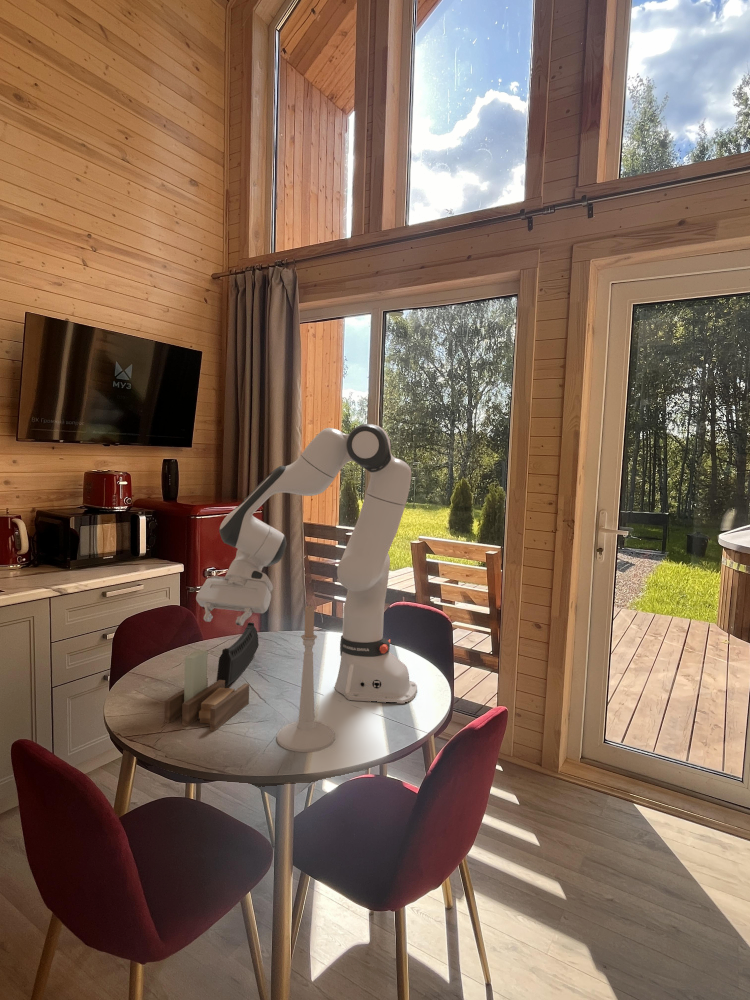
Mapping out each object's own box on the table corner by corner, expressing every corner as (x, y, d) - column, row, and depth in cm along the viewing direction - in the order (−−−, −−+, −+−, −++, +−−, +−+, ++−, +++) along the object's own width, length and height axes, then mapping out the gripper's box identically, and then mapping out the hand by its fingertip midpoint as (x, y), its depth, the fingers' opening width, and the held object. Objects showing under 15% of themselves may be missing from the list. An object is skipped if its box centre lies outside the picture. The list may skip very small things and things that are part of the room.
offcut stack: (234, 706, 143) (234, 688, 143) (215, 725, 132) (215, 706, 132) (219, 705, 143) (219, 687, 143) (198, 724, 133) (199, 705, 132)
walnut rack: (248, 703, 144) (249, 684, 144) (214, 730, 129) (215, 709, 129) (203, 696, 148) (203, 677, 148) (164, 722, 132) (165, 701, 132)
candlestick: (273, 727, 132) (277, 598, 130) (328, 722, 135) (332, 596, 134) (280, 754, 120) (284, 612, 118) (340, 748, 123) (345, 610, 121)
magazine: (225, 660, 149) (256, 602, 177) (213, 660, 149) (245, 601, 177) (230, 714, 155) (259, 649, 183) (218, 713, 155) (249, 648, 183)
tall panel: (206, 706, 142) (207, 650, 141) (192, 716, 136) (193, 658, 135) (198, 704, 143) (199, 649, 142) (183, 714, 137) (184, 656, 136)
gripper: (204, 568, 159) (182, 611, 150) (271, 575, 154) (253, 620, 145) (212, 581, 164) (192, 624, 155) (278, 588, 158) (261, 632, 149)
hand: (222, 622), depth 150 cm, fingers open, 8 cm apart
